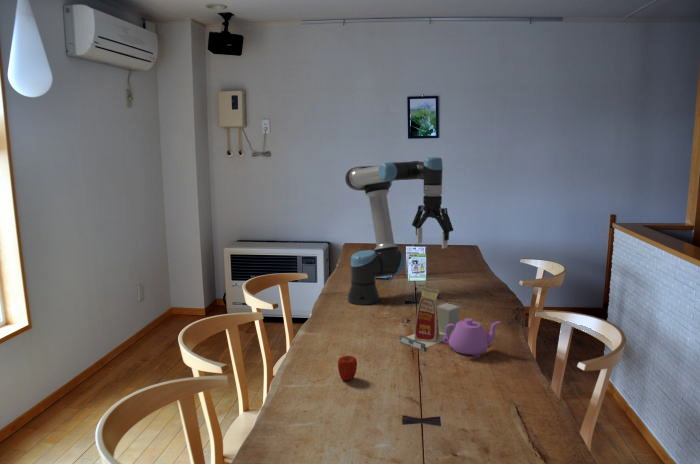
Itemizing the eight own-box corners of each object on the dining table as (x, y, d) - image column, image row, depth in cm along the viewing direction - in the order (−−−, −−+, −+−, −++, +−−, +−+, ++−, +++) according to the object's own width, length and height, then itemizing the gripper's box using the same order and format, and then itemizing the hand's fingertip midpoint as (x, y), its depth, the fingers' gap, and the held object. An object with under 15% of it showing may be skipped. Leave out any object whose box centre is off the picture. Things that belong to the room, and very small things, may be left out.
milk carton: (414, 340, 203) (414, 289, 199) (417, 331, 212) (417, 282, 208) (438, 342, 201) (439, 290, 197) (440, 333, 210) (441, 284, 206)
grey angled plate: (399, 342, 204) (399, 335, 204) (439, 327, 220) (439, 321, 219) (423, 351, 195) (423, 344, 195) (463, 335, 211) (464, 328, 211)
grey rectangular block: (436, 331, 212) (436, 306, 210) (446, 327, 216) (446, 303, 214) (448, 335, 208) (449, 310, 206) (458, 331, 212) (459, 306, 210)
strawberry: (350, 385, 170) (350, 363, 168) (334, 380, 173) (333, 358, 172) (360, 377, 175) (360, 356, 174) (344, 373, 178) (344, 352, 177)
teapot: (497, 346, 199) (499, 314, 197) (500, 362, 186) (502, 327, 183) (443, 343, 203) (443, 311, 201) (442, 358, 189) (442, 324, 187)
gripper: (404, 193, 229) (403, 242, 232) (451, 198, 210) (449, 251, 214) (415, 192, 233) (415, 240, 237) (462, 196, 215) (461, 248, 219)
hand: (431, 245), depth 226 cm, fingers open, 13 cm apart
